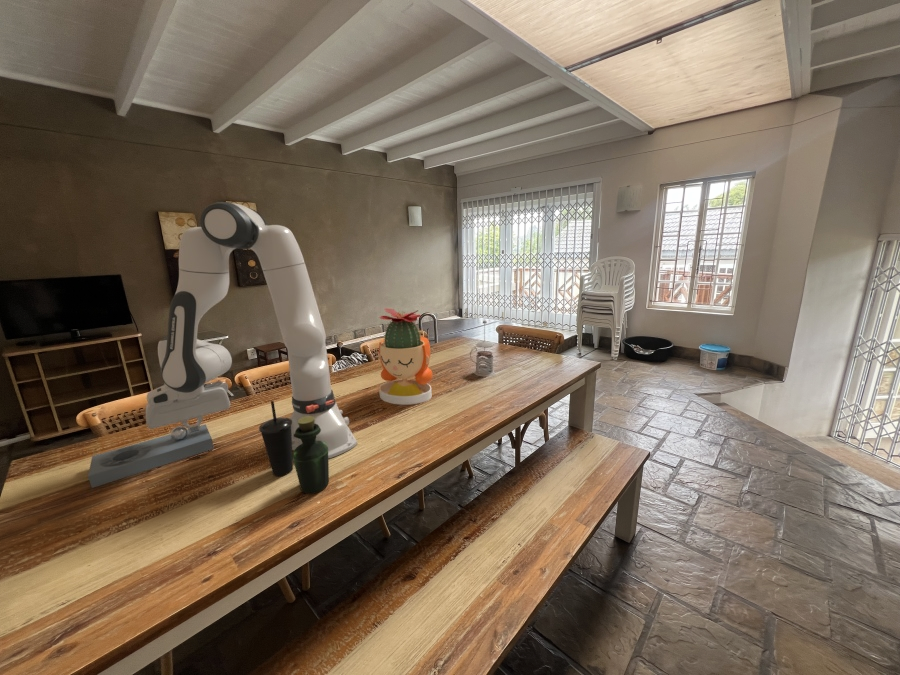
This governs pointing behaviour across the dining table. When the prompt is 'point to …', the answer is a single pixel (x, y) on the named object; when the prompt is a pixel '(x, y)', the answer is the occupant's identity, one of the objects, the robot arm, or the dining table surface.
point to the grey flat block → (146, 456)
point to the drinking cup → (278, 443)
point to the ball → (178, 433)
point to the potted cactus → (404, 361)
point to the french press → (483, 369)
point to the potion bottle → (311, 457)
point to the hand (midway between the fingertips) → (194, 431)
